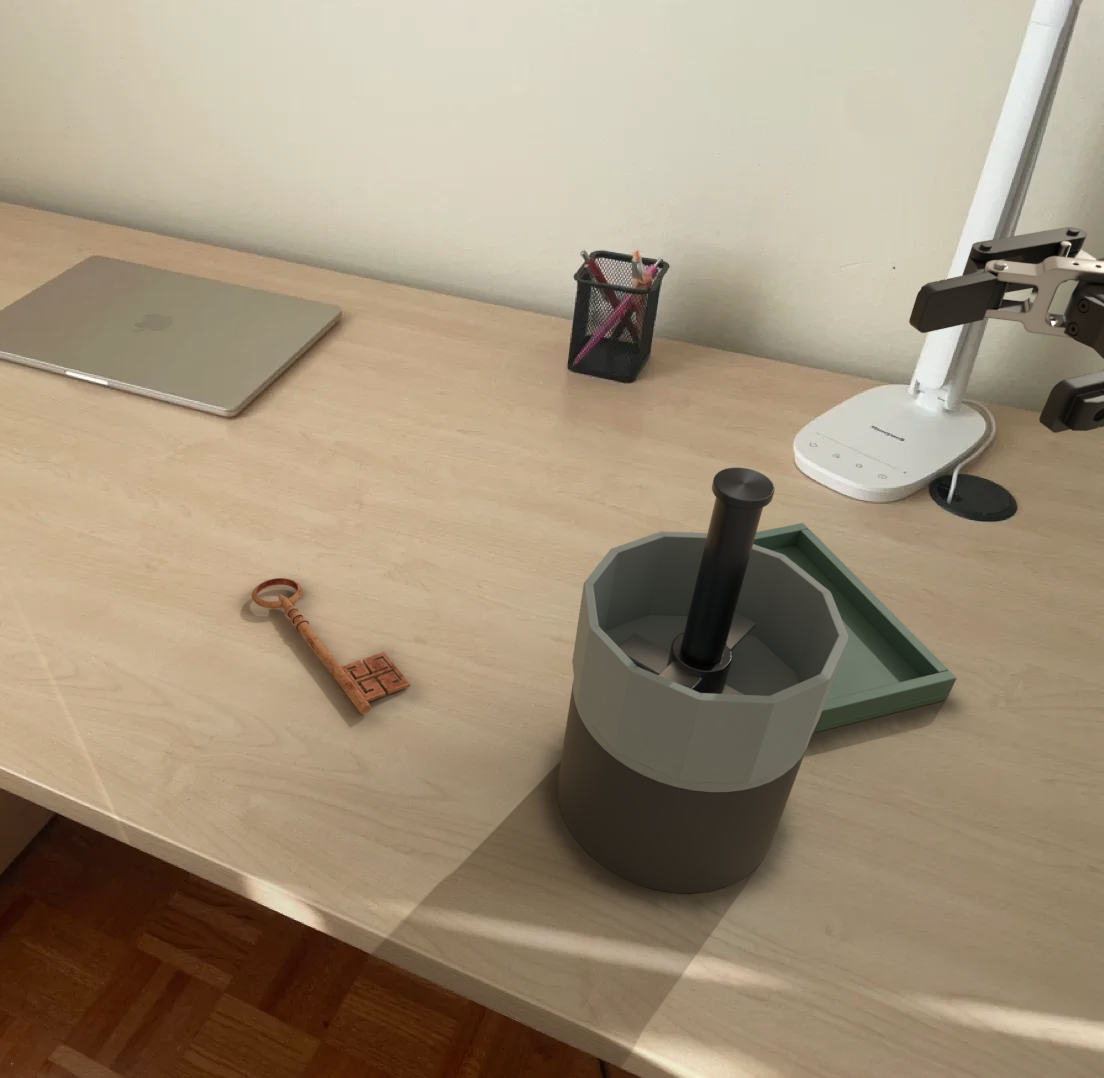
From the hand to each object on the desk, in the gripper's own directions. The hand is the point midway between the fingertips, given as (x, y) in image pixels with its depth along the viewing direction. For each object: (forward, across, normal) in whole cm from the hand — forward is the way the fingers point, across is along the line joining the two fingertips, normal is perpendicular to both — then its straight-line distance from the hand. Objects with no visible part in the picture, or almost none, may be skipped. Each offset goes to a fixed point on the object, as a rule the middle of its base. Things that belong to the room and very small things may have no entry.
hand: (980, 356), depth 46 cm
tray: (-4, -12, +31) cm, 33 cm away
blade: (+10, -1, +20) cm, 22 cm away
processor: (+11, -1, +30) cm, 32 cm away
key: (+28, -20, +29) cm, 45 cm away
